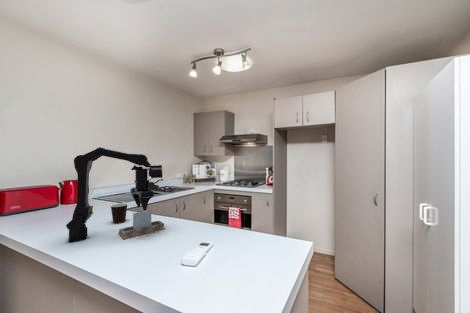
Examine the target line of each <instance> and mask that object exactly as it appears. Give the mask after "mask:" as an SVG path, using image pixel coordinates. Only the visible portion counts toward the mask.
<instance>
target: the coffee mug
mask: <svg viewBox="0 0 470 313" xmlns="http://www.w3.org/2000/svg"><path fill="white" fill-rule="evenodd" d="M127 209H128V204H127V203H115V204H112V205H110V210H111V211H110V212H111V217H112V224H118V225H119V224H123V223H125V222H126V218H127V212H128V210H127Z"/></svg>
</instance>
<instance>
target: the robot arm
mask: <svg viewBox="0 0 470 313" xmlns="http://www.w3.org/2000/svg"><path fill="white" fill-rule="evenodd" d="M101 157H107V158H112V159H117V160H123V161H127V162H129V163H132V164H134V165H133V166H132V168H130V170H131V171H135V180H133V182H134V183H135V187H132V188H131V189H130V190H129V191H130V195H131V196H132V198H133V201H134V202H135V205H136V206H137V207H138V208H140V207H142V209H143V211H147V208H148V204H149V202H150V200H151V199H153V198H154V196H155V192H158V190H159V188H160V185H157V184H155V182H154V181H150V180H149V179H148V177H150V178H151V179H160V178H163V165H162V164H158V165H156V164H155V165H152V164H151V163H150V162H149V158H148V157H147V155H146V154H142V153H141V154H140V153H139V154H138V153H128V152H123V151H118V150H112V149H108V148H104V147H101V146H99V147H97V148H95V149H93V150H91V151H89V152H87V153H85V154H79V155H77V156H75V157H74V159H73V164H74V169H75V172H76V174H77V175H76V176H77V177H76V178H77V179H76V182H77V184H76V205H75V208H74V210H73V214H72V219H71V220H70V221H69V222H68V223H67V224H66V225H65V227H66V228H67V230H68V238H67V240H68V243H73V242H79V241H84V240H86V239H87V237H88V227H87V225H86V223H87V221H88V220H89V219H90V218H91V217H92V216H93V214H94V212H93V208H94V206H93V205H90V204H89V190H90V189H89V188H90V187H89V186H90V184H89V181H90V172H91V170H92V167H93V163H94V162H95V161H98V159H100V158H101ZM154 191H155V192H154Z"/></svg>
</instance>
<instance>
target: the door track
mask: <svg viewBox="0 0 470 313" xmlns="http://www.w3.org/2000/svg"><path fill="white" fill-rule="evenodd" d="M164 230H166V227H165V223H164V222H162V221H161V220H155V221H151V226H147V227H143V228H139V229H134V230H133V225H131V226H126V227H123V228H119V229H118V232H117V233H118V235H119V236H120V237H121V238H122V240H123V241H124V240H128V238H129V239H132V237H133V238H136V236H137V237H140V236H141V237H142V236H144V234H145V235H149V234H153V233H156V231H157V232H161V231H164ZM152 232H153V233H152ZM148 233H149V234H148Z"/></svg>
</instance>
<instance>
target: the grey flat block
mask: <svg viewBox="0 0 470 313" xmlns="http://www.w3.org/2000/svg"><path fill="white" fill-rule="evenodd" d="M151 222H152V210H150V209H149V210H143V211H137V212H133V213H132V226H133V230H134V229H139V228H143V227H147V226H151Z"/></svg>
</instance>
